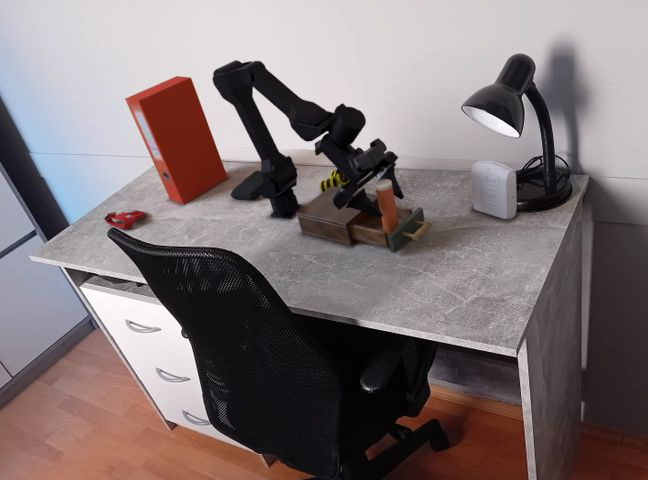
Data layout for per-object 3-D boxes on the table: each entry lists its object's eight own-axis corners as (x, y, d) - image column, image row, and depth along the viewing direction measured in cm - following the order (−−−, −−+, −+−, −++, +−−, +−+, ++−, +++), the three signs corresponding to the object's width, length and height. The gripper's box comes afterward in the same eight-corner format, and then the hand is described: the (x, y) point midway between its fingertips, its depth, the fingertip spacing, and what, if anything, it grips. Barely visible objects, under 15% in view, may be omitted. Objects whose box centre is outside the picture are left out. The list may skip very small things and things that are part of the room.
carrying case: (258, 203, 153) (286, 178, 163) (255, 194, 151) (283, 169, 161) (229, 201, 158) (258, 177, 168) (226, 192, 156) (255, 168, 166)
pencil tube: (381, 233, 123) (371, 187, 116) (388, 224, 126) (379, 178, 119) (395, 235, 122) (387, 187, 115) (402, 226, 124) (394, 179, 117)
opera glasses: (340, 181, 155) (333, 165, 153) (354, 179, 152) (348, 163, 150) (322, 198, 149) (315, 182, 147) (337, 196, 146) (329, 180, 144)
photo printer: (520, 212, 122) (518, 162, 115) (509, 221, 120) (507, 171, 113) (482, 202, 129) (478, 154, 122) (471, 210, 127) (466, 162, 120)
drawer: (440, 227, 122) (438, 210, 120) (410, 257, 116) (408, 240, 113) (374, 213, 134) (371, 198, 131) (344, 240, 127) (340, 224, 124)
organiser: (384, 216, 133) (380, 195, 129) (351, 246, 125) (345, 224, 122) (336, 206, 142) (331, 186, 139) (302, 233, 135) (296, 212, 131)
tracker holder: (144, 206, 165) (143, 212, 156) (147, 220, 166) (145, 227, 157) (101, 211, 162) (97, 217, 153) (104, 225, 163) (100, 232, 154)
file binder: (228, 178, 172) (190, 77, 153) (184, 204, 163) (138, 100, 144) (213, 174, 177) (175, 76, 158) (170, 199, 168) (124, 98, 149)
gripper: (330, 153, 108) (385, 210, 107) (384, 115, 118) (433, 167, 118) (311, 183, 117) (361, 236, 117) (362, 146, 127) (408, 194, 127)
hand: (392, 207), depth 119 cm, fingers open, 8 cm apart
